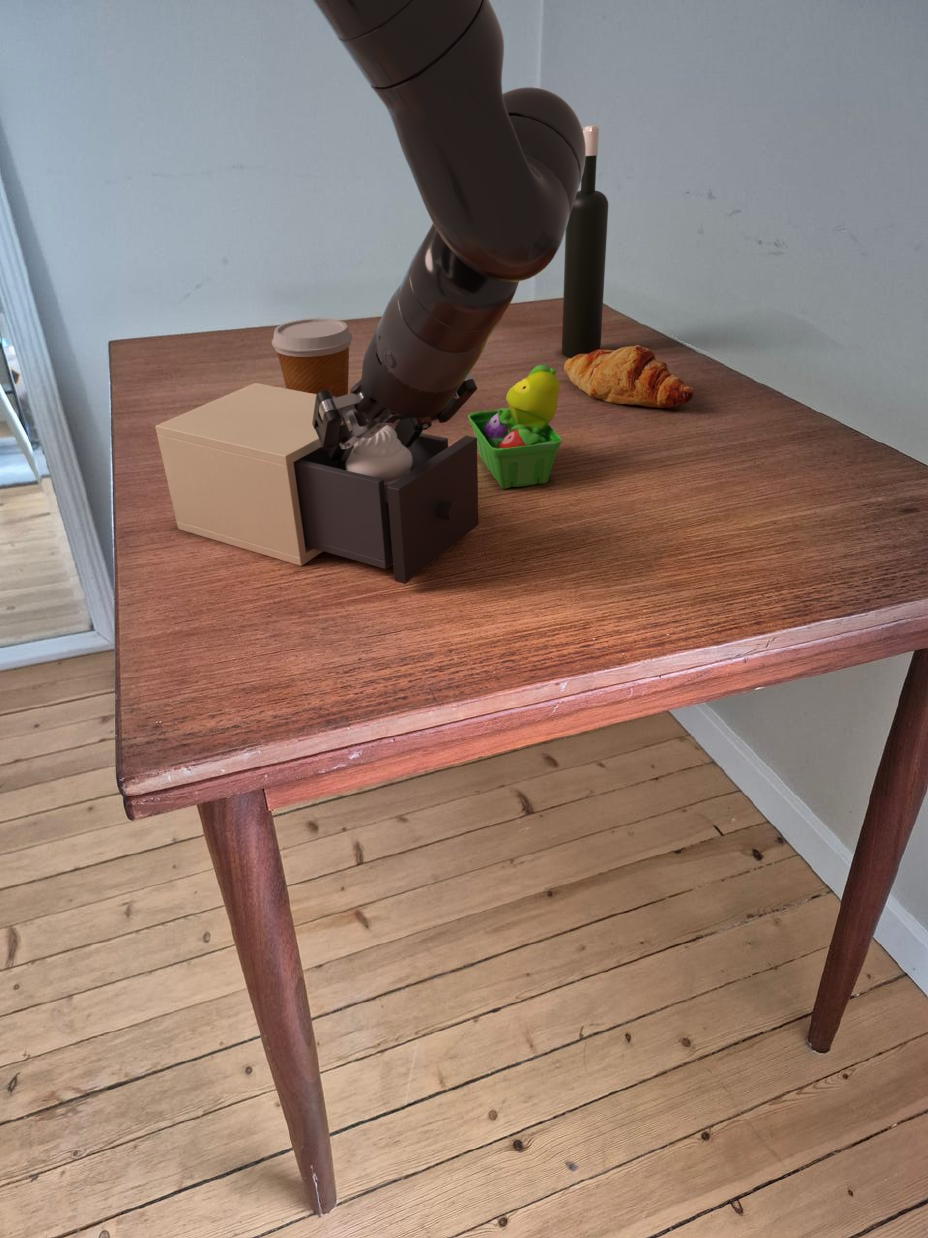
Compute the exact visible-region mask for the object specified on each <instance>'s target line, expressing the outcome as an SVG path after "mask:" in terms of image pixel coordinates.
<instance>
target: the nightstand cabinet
mask: <svg viewBox="0 0 928 1238" xmlns="http://www.w3.org/2000/svg"><path fill="white" fill-rule="evenodd" d="M316 395H317V394H312V393H306V392H301V391H296V390H291V389H287V388H286V387H280V386H273V385H270V384H263V383H259V382H254V383H252V384H249V385H247V386H245V387H243V388H240V389H237V390H235V391H233V392H230V393H228V394H226V395H223V396H221V397H219V398H216V399H214V400H212V401H209V402H207V403H205V404H203V405H200V406H198V407H196V408H193V409H192V410H189V411H186V412H184V413H182V414H178V415H177V416H175V417H172V418H170V419H168V420H165V421H163V422H161V423H158V424H155V426H154V427H155V428H154V429H155V431H156V436H157V440H158V445H159V451H160V455H161V459H162V464H163V468H164V472H165V478H166V482H167V486H168V490H169V494H170V499H171V503H172V508H173V512H174V517H175V522H176V525H177V530H180V531H183V532H186V533H190V534H193V535H196V536H200V537H203V538H207V539H209V540H213V541H217V542H220V543H223V544H227V545H230V546H233V547H236V548H240V549H243V550H246V551H250V552H253V553H257V554H260V555H262V556H267V557H270V558H273V559H276V560H278V561H279V560H280V561H282V562H287V563H288V564H289V563H290V564H293V565H296V566H300V567H302V566H304V565H305V564H307V563H308V562H310V561H311V560H312V559H314V558H316V557H317V556H318V555H320V554H322V553H323V552H324V551H321V550H318V549H314V548H311V547H307V546H305V542H304V535H303V527H302V520H301V513H300V506H299V499H298V491H297V484H296V477H295V470H294V463H293V462H295V461H296V460H298V459H300V458H302V457H304V456H306V455H307V454H309V453H311V452H313V451H315V450H317V449H318V448H320V447H322V446H321V442H320V440H319V438H318V435H317V433H316V430H315V429H314V427H313V424H312V422H313V414H314V407H315V400H316ZM366 420H367V419H366ZM367 422H369V423H370V421H368V420H367ZM347 426H348V428H349V431H351V430H352V425H351V423H350V421H349V422H347Z"/></svg>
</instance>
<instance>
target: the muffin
mask: <svg viewBox="0 0 928 1238" xmlns="http://www.w3.org/2000/svg"><path fill="white" fill-rule="evenodd" d="M392 427H393V426H390V425H389V424H387V425H386V426H385V427H383V428H382V429H381V430H380V431H379V432H377V433H376V434H375V435H374V436H372V437H371V438H361V439H360V440H359V441H358V442H357V443H355V444H354V447H353V449H352V451H351V453H350V455H349V457H348V459H347V461H346V462H345V468H346V470H347V471H351V472H355V473H359V474H364V475H368V476H372V477H376V478H381V479H384V487H385V499H386V503H388V491H387V487H388V486H389V485H391V484H392V483H394V482H395V481H397V480H398V479H400V478H402V477H403V476H405V475H406V474H408V473H409V472H410V468H411V466H412V462H413V459H412V454H411V452H410V451H409V450H408V449H407V448H406V447H405V446H403V445H402V444H401V442H400V440H399V439H397V434H396V432H395V431H394V429H393V428H394V427H393V428H392Z"/></svg>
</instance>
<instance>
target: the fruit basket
mask: <svg viewBox="0 0 928 1238" xmlns="http://www.w3.org/2000/svg"><path fill="white" fill-rule="evenodd" d="M556 373H557V370H556V369H554V368H551V367H549V366H548V365H545V364H538V365H535V366H534V367H533V368H532V369H531V371H530V372H529V373H528V376H527V377H525V378H522V379H521V380H520V381H518V382H516V383H515V384H514V385H513V386H511V387H510V388H509V390H508V391H507V393H506V397H505V399H506V402H507V406H508V408H506V407H501V408H498V409H496V410H495V409H494V410H483V411H478V412H473V413H472V412H471V413H469V414H468V415H467V418H468V421H469V425H470V426H471V428H472V430H473V431H472V432H473V435H474V437H476V438H477V451H478V454H479V457H480V460H481V461H482V462H483V464H485V466H486V468H487V469H488V471H489V472H490V473H491V476H492V477H493V478H494V479H495V481H497V483H498V485H499V486H500V488H501V489H503V490H505V489H510V488H519V487H526V486H534V485H537V484H547V483H548V481H549V478H550V475H551V472H552V469H553V465H554V462H555V459H556V455H557V452H558V450H559V449H560V446H561V444H562V441H563V439H562V437H561V436H560V435H559V434H558V433H557V432H556V431H555V430H554V429H553V428H552V427H551V425H550V423H551V422H552V420H553V419H554V417H555V415H556V412H557V409H558V396H559V393H560V389H561V383H560V381H559V379H558V377H557V376H556Z"/></svg>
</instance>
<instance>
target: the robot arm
mask: <svg viewBox="0 0 928 1238" xmlns="http://www.w3.org/2000/svg"><path fill="white" fill-rule="evenodd" d="M312 2H313V3H314V5H315V6H316V8H317V9H318V11H319V12H320V13H321V15H322V17H323V18H324V19H325V21H326V23H327V25H328V26H329V27H330V29H331V30H332V32H333V33H334V35H335V36H336V38H337V39H338V41H339V42H340V44H341V45H342V47H343V48H344V50H345V51H346V53H347V54H348V56H349V57H350V58H351V60H352V61H353V63H354V64H355V65H356V67H357V68H358V70H359V71H360V73H361V75H362V76H363V77H364V79H365V81H366V82H367V83H368V84H369V86H370V87H371V90H373V92H374V93H375V94H376V96H377V97H378V98H379V100H380V101H381V103H382V104H383V105H384V107H385V109H386V110H387V113H388V115H389V117H390V120H391V123H392V126H393V128H394V131H395V134H396V137H397V139H398V140H397V141H398V143H399V145H400V149H401V152H402V154H403V157H404V158H405V161H406V163H407V165H408V168H409V171H410V173H411V175H412V178H413V180H414V183H415V185H416V187H417V190H418V192H419V195H420V198H421V200H422V201H423V204H424V208H425V209H426V211H427V213H428V216H429V218H430V220H431V222H432V224H431V226H430V228H429V229H428V232H427V233H426V234H425V237H424V238H423V240H422V241H421V243H420V244H419V246H418V247H417V250H416V252H415V253H414V255H413V258H412V259H411V261H410V264H409V266H408V267H407V271H406V272H405V274H404V277H403V279H402V281H401V283H400V285H399V286H398V288H397V289H396V290H395V292H393V294H392V296H391V297H390V299H389V301H388V303H387V305H386V307H385V309H384V311H383V313H382V316H381V318H380V320H379V322H378V324H377V326H376V329H375V331H374V333H373V335H372V337H371V339H370V342H369V344H368V346H367V348H366V351H365V353H364V356H363V360H362V369H361V378H360V380H359V381H358V382H356V383H355V384H354V385H353V386H352V387H351V389H350V391H349V393H348V394H347V395H344V396H340V397H337V398H335V397H334V396H332V394H331V392H330V391H329V390H326V391H322V392H320V393H318V394H317V395H316V400H315V407H314V414H313V422H312V424H313V427H314V429H315V430H316V433H317V435H318V438H319V440H320V442H321V446H322V449H323V450H324V451H328V453H329V456H330V458H331V461H334V460H335V463H336V464H337V465H340V464H344V463H345V462H346V461H347V459H348V457H349V455H350V453H351V451H352V449H353V447H354V444H355V443H357V442H358V441H359V440H360V439H361V438H371V437H372V436H374V435H375V434H376V433H377V432H379V431H380V430H381V429H382V428H383V427H385V426H386V425H393V424H394V423H395V422H397V421H398V422H397V423H396V425H395V426H394V428H395V432H396V434H397V438H398V439H399V440H400V442H401V444H402V445H403V446H405V447H406V448H408V447H411V446H412V444H413V442H414V441H415V440H416V439H417V438H418V437H419V436H420V434H421V433H422V432H423V431H426V430H428V429H430V428H431V427H432V422H434V421H436V420H438V423H439V424H443V423H447V422H448V421H450V420H452V418H453V417H454V415H456V413H458V412H459V410H460V409H461V408H462V407H463V406H464V405H465V404H466V403H467V401H468V400H469V399H470V398H471V397H472V396H473V395H474V394H475V392H476V391H477V390H478V386H477V384H476V381H475V379H474V377H473V375H472V370H473V368H474V366H475V365H476V364H477V363H478V361H479V359H480V357H481V356H482V354H483V351H484V349H485V347H486V344H487V342H488V340H489V339H490V337H491V336H492V334H493V332H494V330H495V329H496V327H497V326H498V325H499V322H501V320H502V319H503V317H504V315H505V314H506V312H507V310H508V309H509V307H510V305H511V303H512V301H513V299H514V296H515V294H516V292H517V289H518V287H519V283H520V282H523V281H526V280H530V279H531V278H533V277H535V276H537V275H538V274H540V273H541V272H542V271H543V270H545V269H546V268H547V267H548V265H550V263H551V262H552V261H553V260H554V258H555V256H556V254H557V253H558V251H559V249H560V247H561V245H562V242H563V240H564V237H565V234H566V227H567V224H568V221H569V217H570V214H571V211H572V207H573V204H574V201H575V197H576V194H577V191H579V188H580V186H581V179H582V175H583V171H584V166H585V158H586V146H585V139H584V134H583V126H582V125H581V122H580V119H579V118H578V116H577V114H576V112H575V110H573V108H572V106H570V104H569V103H567V102H566V101H565V100H564V99H563V98H562V97H561V96H559V95H558V94H557V93H554V92H552V91H549V90H547V89H544V88H541V87H540V88H539V87H531V86H530V87H528V86H527V87H519V88H514V89H511V90H508V91H506V92H503V80H502V79H503V67H504V57H505V41H504V35H503V29H502V28H501V24H500V22H499V18H498V17H497V14H496V12H495V10H494V7H493V5H492V4H491V1H490V0H312ZM366 419H367V420H368V421H370V423H369V424H368V422H367V420H366ZM349 421H350V423H351V425H352V431H351V432H350V431H349V428H348V426H347V422H349Z"/></svg>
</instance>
